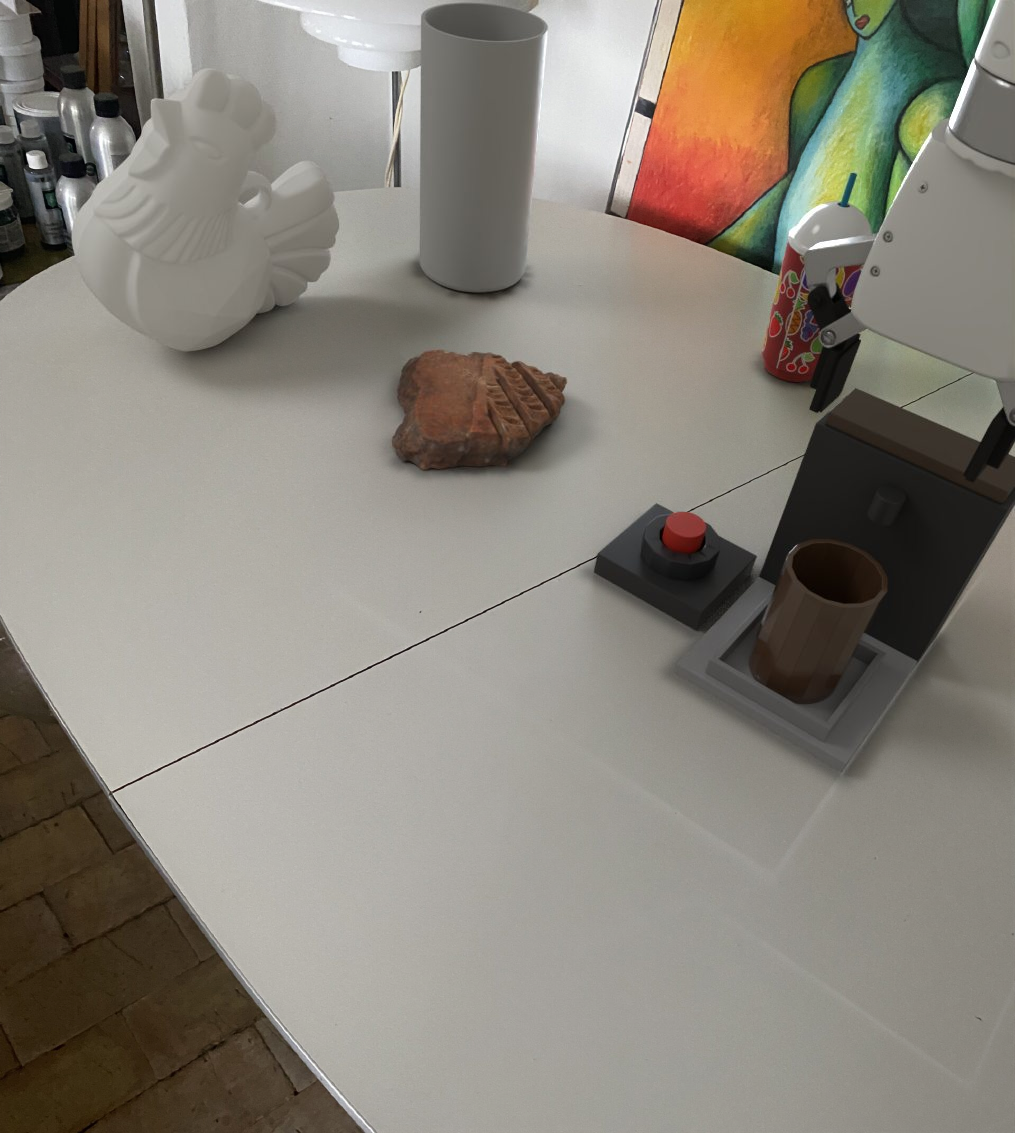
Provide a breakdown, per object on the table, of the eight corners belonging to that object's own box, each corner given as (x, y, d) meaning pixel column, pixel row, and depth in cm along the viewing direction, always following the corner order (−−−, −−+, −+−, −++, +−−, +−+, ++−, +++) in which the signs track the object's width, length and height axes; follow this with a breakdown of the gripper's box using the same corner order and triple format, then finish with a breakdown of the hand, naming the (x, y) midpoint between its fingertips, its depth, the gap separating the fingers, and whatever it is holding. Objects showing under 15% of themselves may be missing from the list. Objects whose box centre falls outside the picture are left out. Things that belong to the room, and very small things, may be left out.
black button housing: (750, 575, 80) (763, 539, 78) (695, 632, 76) (707, 595, 73) (651, 522, 84) (660, 485, 81) (593, 573, 79) (600, 536, 76)
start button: (708, 540, 77) (713, 523, 76) (688, 559, 76) (693, 543, 74) (675, 522, 79) (679, 506, 77) (654, 541, 77) (658, 524, 76)
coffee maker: (935, 637, 77) (1039, 464, 64) (840, 773, 67) (941, 601, 55) (782, 557, 82) (850, 382, 70) (673, 673, 72) (729, 494, 60)
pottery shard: (561, 386, 98) (566, 350, 95) (568, 478, 87) (573, 441, 84) (402, 375, 97) (402, 339, 94) (389, 466, 86) (389, 429, 84)
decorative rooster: (59, 327, 85) (204, 92, 73) (33, 219, 92) (162, -13, 80) (286, 418, 104) (431, 242, 92) (251, 322, 111) (382, 147, 99)
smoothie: (811, 399, 99) (882, 201, 84) (738, 371, 102) (795, 174, 87) (839, 366, 104) (910, 173, 89) (768, 340, 107) (827, 148, 92)
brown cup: (853, 667, 73) (903, 570, 65) (813, 719, 69) (862, 622, 61) (774, 624, 75) (814, 525, 68) (731, 672, 71) (769, 573, 64)
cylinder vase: (397, 262, 112) (395, 12, 94) (477, 236, 118) (489, -4, 100) (467, 306, 107) (479, 50, 88) (547, 276, 113) (574, 30, 94)
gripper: (1257, 155, 42) (1062, 470, 55) (896, 52, 49) (796, 356, 62) (1222, 204, 38) (1020, 532, 51) (833, 85, 45) (739, 403, 58)
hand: (897, 435), depth 56 cm, fingers open, 9 cm apart
